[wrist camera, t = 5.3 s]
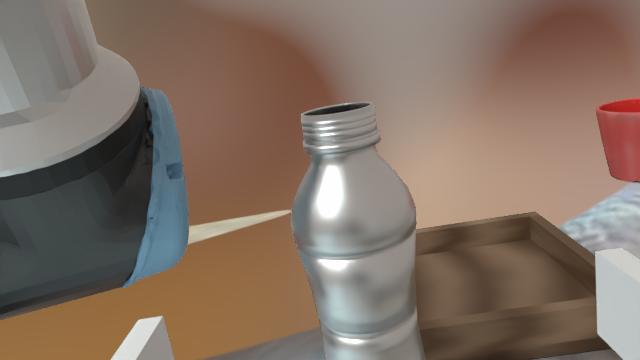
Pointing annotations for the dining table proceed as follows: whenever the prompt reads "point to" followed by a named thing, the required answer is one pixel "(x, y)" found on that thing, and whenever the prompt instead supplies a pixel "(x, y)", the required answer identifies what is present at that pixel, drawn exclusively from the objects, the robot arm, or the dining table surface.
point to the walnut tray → (504, 291)
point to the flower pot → (621, 137)
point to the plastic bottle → (357, 238)
